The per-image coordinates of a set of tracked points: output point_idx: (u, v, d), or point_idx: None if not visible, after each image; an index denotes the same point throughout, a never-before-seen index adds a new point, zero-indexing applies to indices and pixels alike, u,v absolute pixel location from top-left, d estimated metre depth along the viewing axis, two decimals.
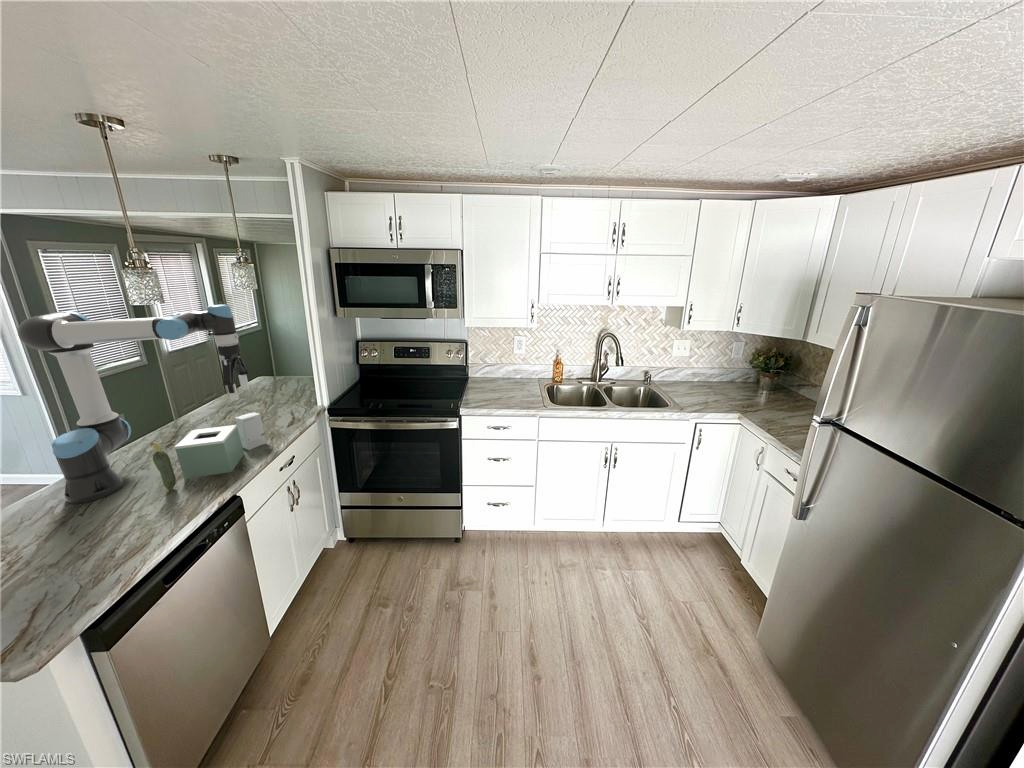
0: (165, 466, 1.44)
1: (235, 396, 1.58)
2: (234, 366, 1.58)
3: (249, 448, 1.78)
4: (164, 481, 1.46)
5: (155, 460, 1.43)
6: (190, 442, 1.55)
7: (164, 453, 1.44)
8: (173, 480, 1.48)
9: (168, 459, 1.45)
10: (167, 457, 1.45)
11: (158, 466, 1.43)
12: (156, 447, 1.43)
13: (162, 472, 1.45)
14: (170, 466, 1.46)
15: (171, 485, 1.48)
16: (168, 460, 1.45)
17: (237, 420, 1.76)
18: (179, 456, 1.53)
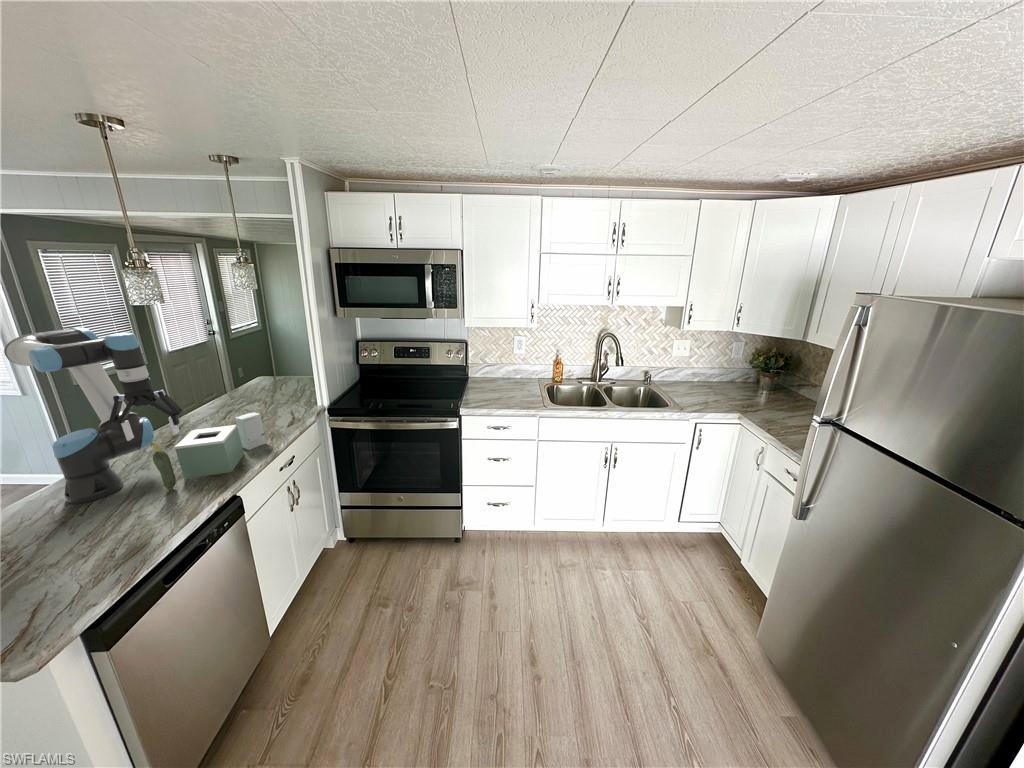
0: (165, 466, 1.44)
1: None
2: (126, 405, 1.35)
3: (249, 448, 1.78)
4: (164, 481, 1.46)
5: (155, 460, 1.43)
6: (190, 442, 1.55)
7: (164, 453, 1.44)
8: (173, 480, 1.48)
9: (168, 459, 1.45)
10: (167, 457, 1.45)
11: (158, 466, 1.43)
12: (156, 447, 1.43)
13: (162, 472, 1.45)
14: (170, 466, 1.46)
15: (171, 485, 1.48)
16: (168, 460, 1.45)
17: (237, 420, 1.76)
18: (179, 456, 1.53)
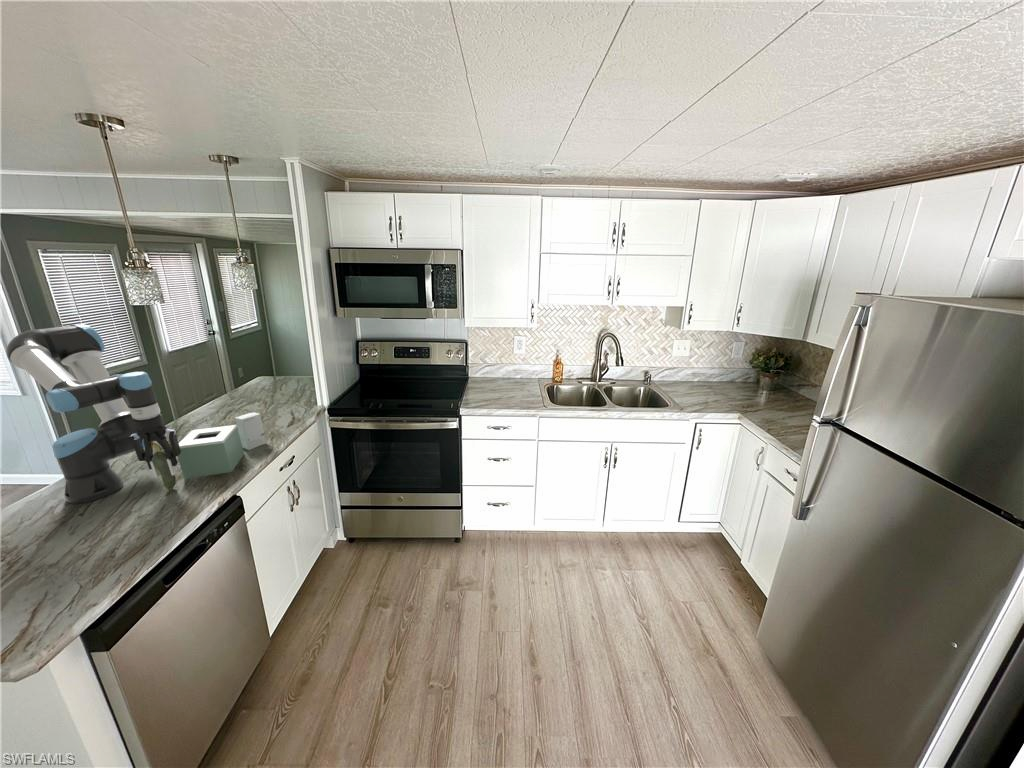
0: (165, 466, 1.44)
1: None
2: (143, 443, 1.40)
3: (249, 448, 1.78)
4: (164, 481, 1.46)
5: (155, 460, 1.43)
6: (190, 442, 1.55)
7: (164, 453, 1.44)
8: (173, 480, 1.48)
9: None
10: (167, 457, 1.45)
11: (158, 466, 1.43)
12: (156, 447, 1.43)
13: (162, 472, 1.45)
14: None
15: (171, 485, 1.48)
16: None
17: (237, 420, 1.76)
18: (179, 456, 1.53)
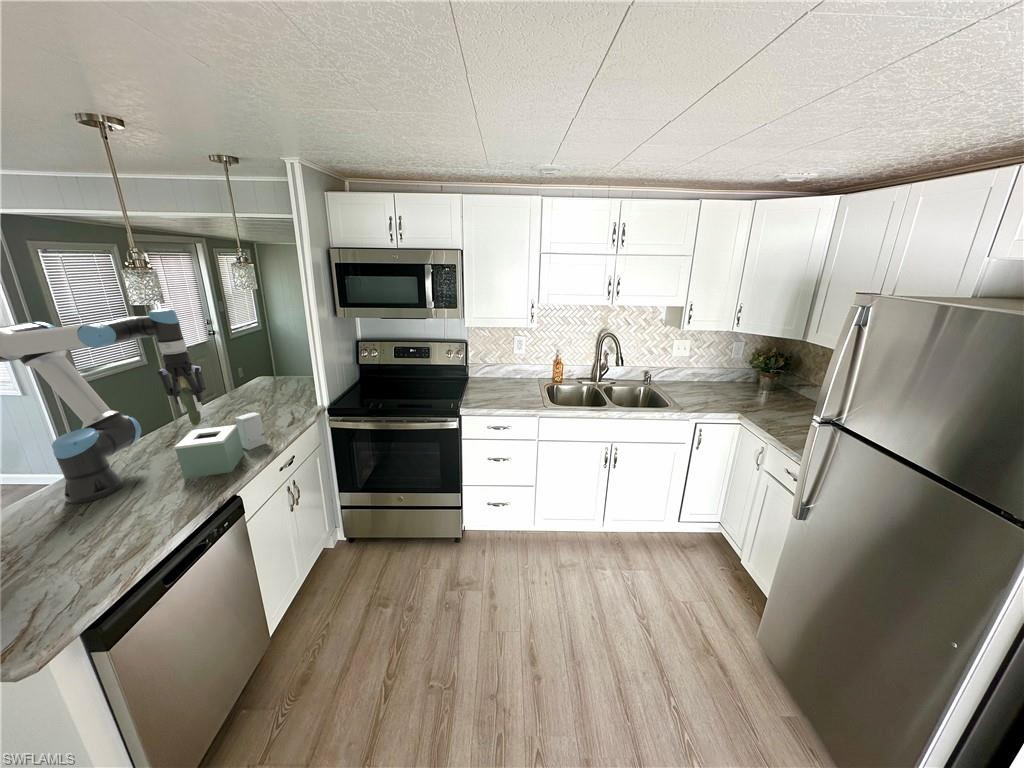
0: (191, 402, 1.52)
1: None
2: None
3: (249, 448, 1.78)
4: (190, 416, 1.54)
5: (182, 395, 1.50)
6: (190, 442, 1.55)
7: (190, 389, 1.52)
8: (198, 416, 1.55)
9: None
10: (192, 393, 1.52)
11: (184, 401, 1.51)
12: (183, 383, 1.51)
13: (188, 407, 1.52)
14: None
15: (197, 421, 1.55)
16: None
17: (237, 420, 1.76)
18: (179, 456, 1.53)
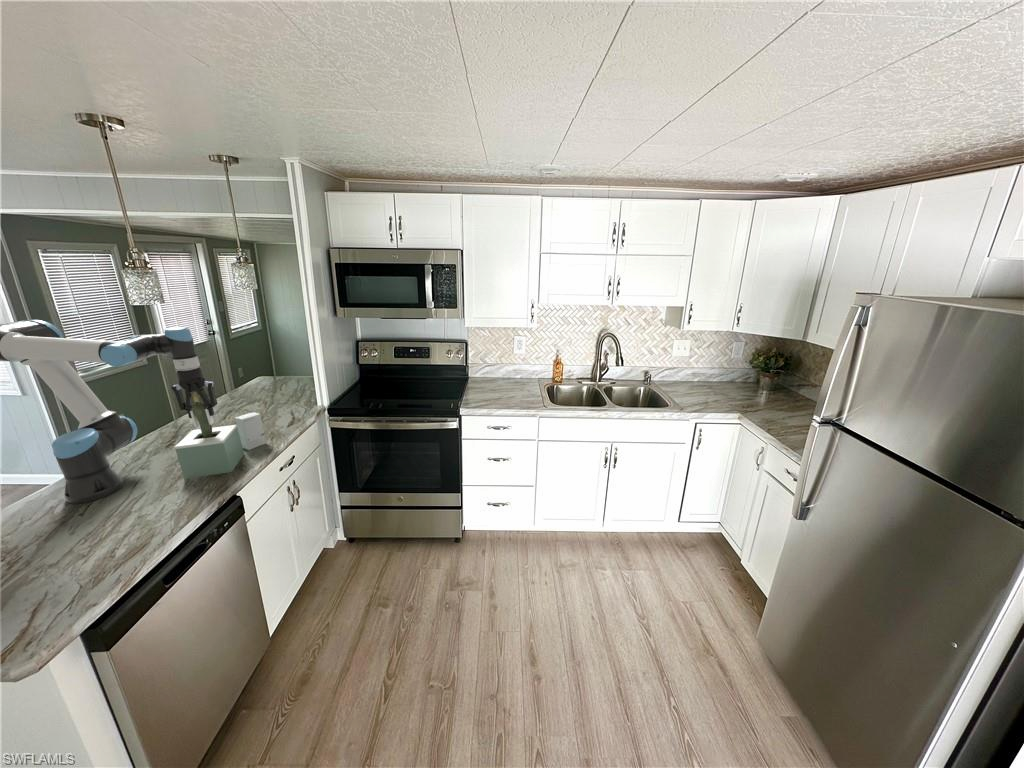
0: (204, 415, 1.58)
1: None
2: (185, 393, 1.53)
3: (249, 448, 1.78)
4: (202, 430, 1.59)
5: (195, 409, 1.56)
6: (190, 442, 1.55)
7: (202, 403, 1.57)
8: (210, 429, 1.61)
9: None
10: (205, 408, 1.58)
11: (197, 415, 1.56)
12: (196, 397, 1.56)
13: (201, 421, 1.58)
14: None
15: (208, 434, 1.61)
16: None
17: (237, 420, 1.76)
18: (179, 456, 1.53)
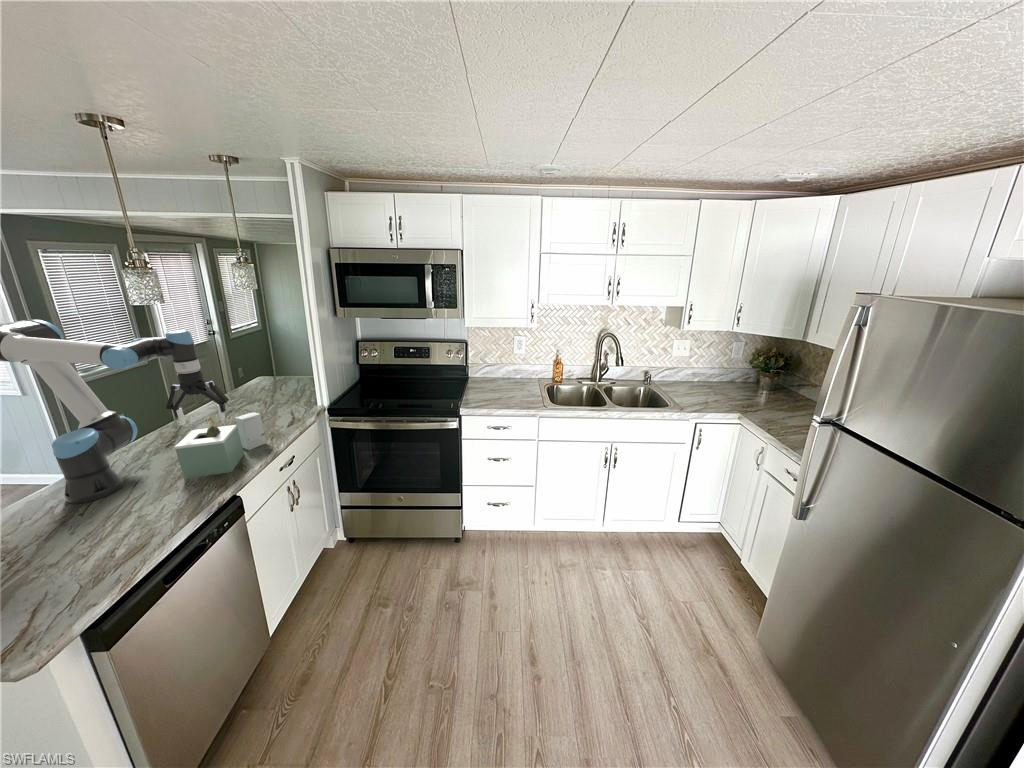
0: None
1: None
2: None
3: (249, 448, 1.78)
4: None
5: (209, 434, 1.60)
6: (190, 442, 1.55)
7: (217, 429, 1.62)
8: None
9: None
10: (218, 433, 1.63)
11: None
12: (212, 422, 1.61)
13: None
14: None
15: None
16: None
17: (237, 420, 1.76)
18: (179, 456, 1.53)
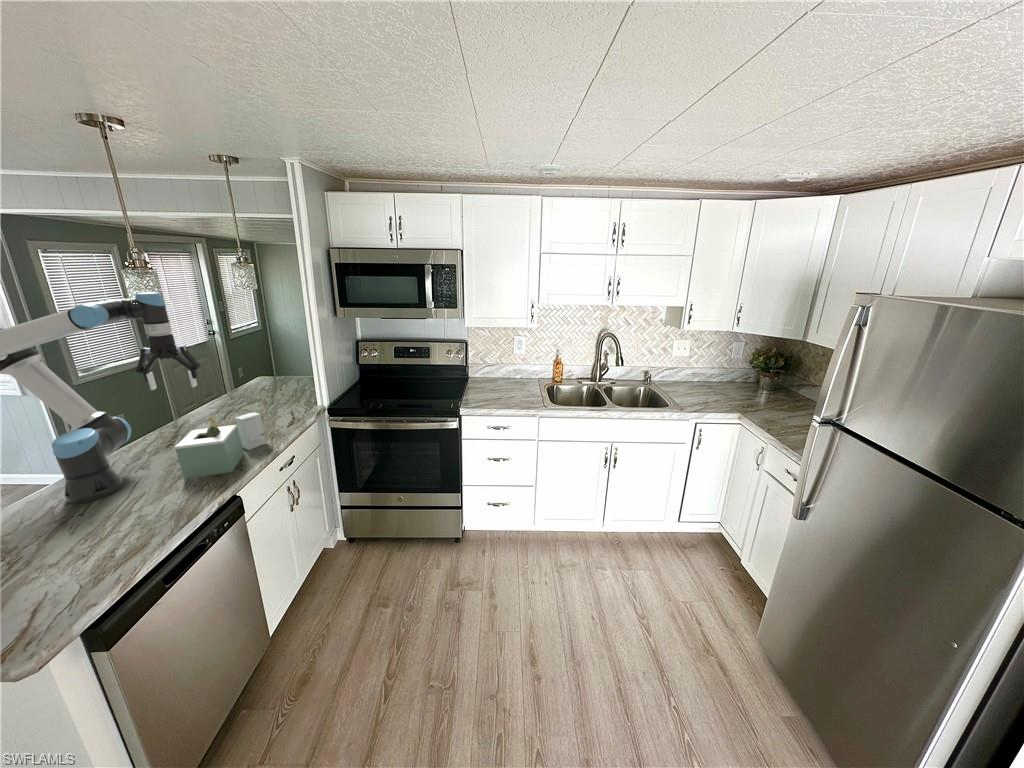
0: None
1: None
2: None
3: (249, 448, 1.78)
4: None
5: (209, 434, 1.60)
6: (190, 442, 1.55)
7: (217, 429, 1.62)
8: None
9: None
10: (218, 433, 1.63)
11: None
12: (212, 422, 1.61)
13: None
14: None
15: None
16: None
17: (237, 420, 1.76)
18: (179, 456, 1.53)
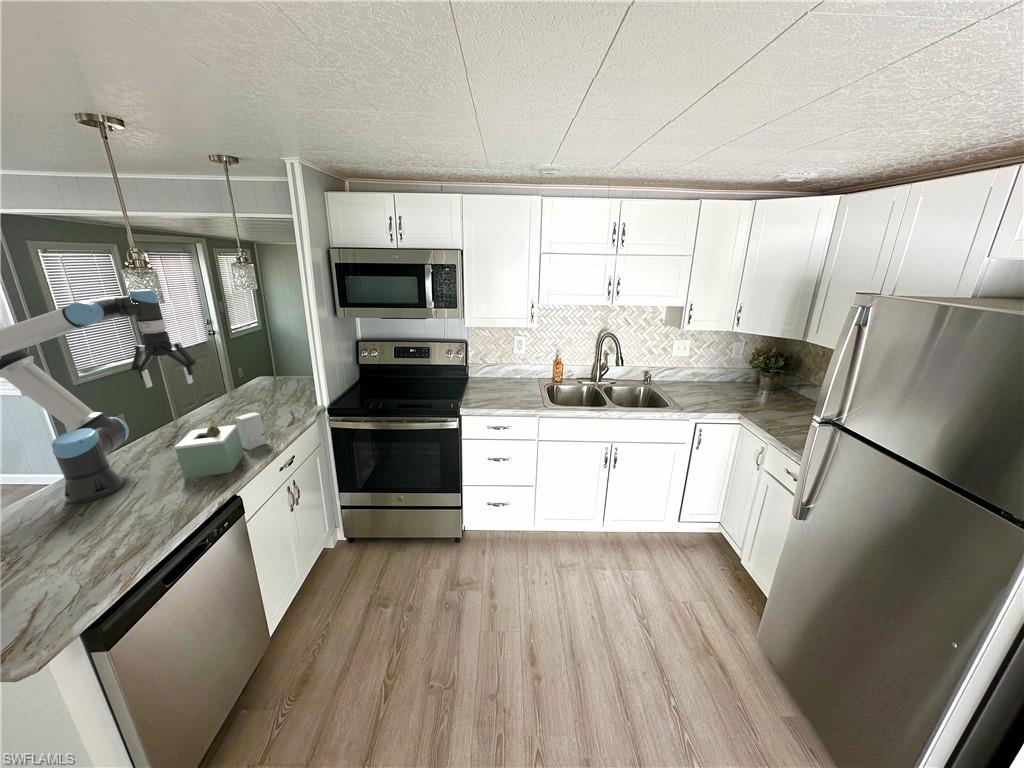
0: None
1: None
2: None
3: (249, 448, 1.78)
4: None
5: (209, 434, 1.60)
6: (190, 442, 1.55)
7: (217, 429, 1.62)
8: None
9: None
10: (218, 433, 1.63)
11: None
12: (212, 422, 1.61)
13: None
14: None
15: None
16: None
17: (237, 420, 1.76)
18: (179, 456, 1.53)
